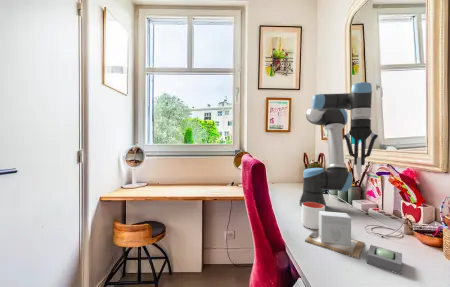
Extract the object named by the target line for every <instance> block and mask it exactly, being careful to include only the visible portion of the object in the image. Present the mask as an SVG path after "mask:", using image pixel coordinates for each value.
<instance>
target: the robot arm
mask: <svg viewBox="0 0 450 287" xmlns="http://www.w3.org/2000/svg"><path fill="white" fill-rule="evenodd" d="M350 92H351V93H350ZM350 92H349V93H345V92H343V93H319V94H318V93H317V94H313V95H312V99H311V100H312V101H311V107H310V108H309V109H307V111H306V113H305V117H306V120H307V121H308V122H309V123H311V124H313V125H315V126H324V130H326V132H327V153H328V166H327V167H326V169H324V168H322V167H311V168H305V169H304V170H303V176H302V179H303V180H302V181H303V182H302V193H301V197H300V199H299V206H301V207H302V203H304V202H314V203H319V204H322V205H324V206H325V209H326V208H327V203H326V202H327V201H326V200H325V196H324V191H335V192H336V191H337V192H348V191H349V190H350V189H351V187H352V183H353V173H352V172H351V171H349V169H348V167H347V166H346V164H345V154H344V153H345V151H344V140H343V138H344V139H345V142H346V146H347V150H348V153H349V156H350V157H353V165H355V166H356V174H362V172H363V166H365V164H366V158H368V157H370V156H371V154H372V151H373V148H374V145H375V141H376V140H377V139H378V137H379V135H378V134H375V133H374V132H373V130H372V120H371V117H372V98H373V86H372V83H370V82H367V81H364V82H363V81H362V82H356V83H353V84H352V85H351V90H350ZM347 111H350V118H351V119H350V129H349V131H348V132H347V133H346V134H343V129H344V128H345V126H346V125H347V124H348V113H347ZM351 137H352V139H353V140H354V148H353V147H352V146H353V145H352V142H351V139H350V138H351ZM369 137H370V138H371V139H370V142H369V145H368V147H367V150H366V141H367V139H369ZM359 142H360V143H361V146H360V157H359Z"/></svg>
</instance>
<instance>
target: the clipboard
mask: <svg viewBox="0 0 450 287" xmlns="http://www.w3.org/2000/svg"><path fill="white" fill-rule="evenodd" d="M304 242H306V243H309V244H312V245H314V246H318V247H321V248H324V249H327V248H328V249H327V250H330V249H331V251H333V250H334V251H333V252H336V251H337V253H339V252H340V254H342V253H344V254H343V255H345V254H347V255H346V256H348V255H350V256H349V257H352V256H353V257H352V258H355V257H356V258H355V259H359V258H358V257H360V256H361V253H362V250H363V248H364V246H365V242H364V241H360V240H357V239H352V238H351V246H349V245H341V244H333V243H324V242H321V240H320V238H319V230H317V229H316V230H314V231H313V232H312V233H310V234H309V236H307V238H305V239H304Z"/></svg>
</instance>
